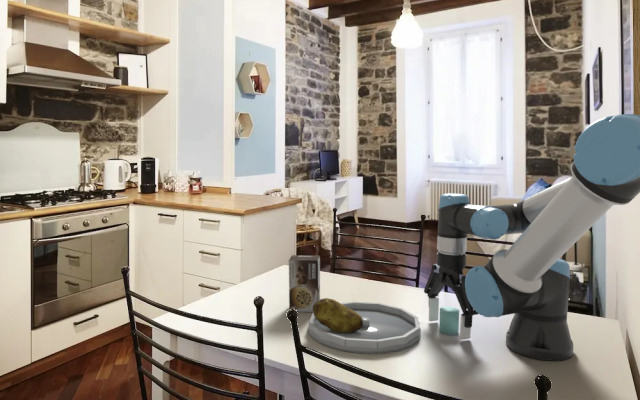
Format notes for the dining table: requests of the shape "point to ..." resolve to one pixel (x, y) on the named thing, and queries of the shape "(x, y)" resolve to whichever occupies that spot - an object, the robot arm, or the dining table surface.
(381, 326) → the ring tray
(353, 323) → the potato
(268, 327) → the dining table surface
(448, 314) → the bead
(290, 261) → the coffee box
